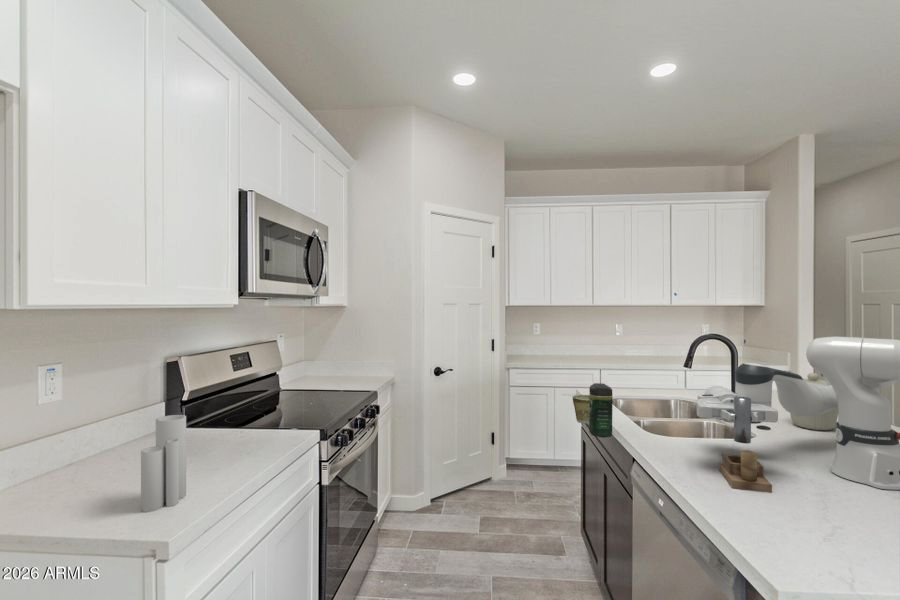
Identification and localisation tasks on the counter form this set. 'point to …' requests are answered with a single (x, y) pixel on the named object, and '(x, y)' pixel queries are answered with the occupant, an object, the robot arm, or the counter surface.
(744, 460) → the walnut housing
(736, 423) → the grey metal pin
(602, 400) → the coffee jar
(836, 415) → the beige round tub
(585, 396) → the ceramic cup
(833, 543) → the counter surface
